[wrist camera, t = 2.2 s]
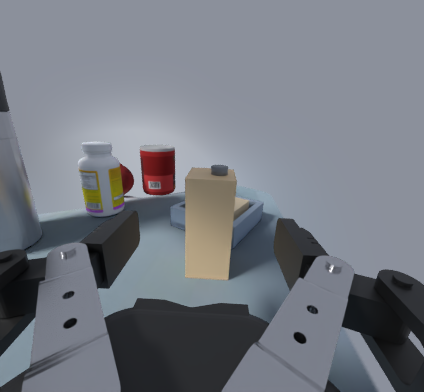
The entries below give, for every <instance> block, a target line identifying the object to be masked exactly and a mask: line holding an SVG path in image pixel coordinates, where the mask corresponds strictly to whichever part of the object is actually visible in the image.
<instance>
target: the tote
mask: <svg viewBox="0 0 424 392" xmlns="http://www.w3.org/2000/svg"><path fill="white" fill-rule="evenodd" d="M235 197H237V198H241V199H246V200H250V201H249V209H248V210H247V211H246V212H244V213H243V214H242V215H241V216H239V217H238V218H237V219H236V220H234V221H233V230H232V241H231V249H233V248H234V247H235V246H236V245H237V244H238V243H239V242H240V241H241V240H242V239H243V238H244V237H245V236H246V235H247V234H248V233H249V232H250V230H251V229H252V228H253V227H254V226H255V225H256V224H257V223H258V222H259V221H260V220H261V217H262V210H263V203H264V202H260V201H256V200H252V199H247V198H243V197H239V196H235ZM170 212H171V226H174V227H177V228H179V229H182V230H185V200H184V201H182V202H180V203H178V204H175V205H173V206H171V207H170Z"/></svg>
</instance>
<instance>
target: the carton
mask: <svg viewBox="0 0 424 392" xmlns="http://www.w3.org/2000/svg"><path fill="white" fill-rule="evenodd" d="M236 184H237V180H236V177H235V173H234V170H230V169H228V166H224V165H213V166H211V169H210V168H192V169H191V170H190V172H189V173H188V175H187V177H186V178H185V278H200V279H216V280H228V276H229V264H230V253H231V241H232V230H233V218H234V207H235V195H236Z"/></svg>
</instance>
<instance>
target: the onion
mask: <svg viewBox="0 0 424 392" xmlns="http://www.w3.org/2000/svg"><path fill="white" fill-rule="evenodd" d="M120 170H121V178H122V187H123V195H124V194H126V193H127V192H128V191H129V190H130V189H131V188H132V187H133V184H134V179H133V175H132V173H131V172H130V171H129V170H128V169H127V168H126V167H125V166H123V165H122V164H120Z"/></svg>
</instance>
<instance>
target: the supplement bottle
mask: <svg viewBox="0 0 424 392" xmlns="http://www.w3.org/2000/svg"><path fill="white" fill-rule="evenodd" d="M81 148H82V151H83V152H84V158H82V159H80V160H79V162H78V167H79V173H80V179H81V184H82V190H83V195H84V200H85V205H86V210H87V212H88V214H90V215H92V216H96V217H104V216H111V215H115V214H117V213H119V212H121V211H122V210H123V209H124V207H125V204H124V195H123V187H122V178H121V170H120V163H119V161H118V159H116V158H115V157H113V156H112V154H111V150H112V145H111V143H109V142H85V143H81Z"/></svg>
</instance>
